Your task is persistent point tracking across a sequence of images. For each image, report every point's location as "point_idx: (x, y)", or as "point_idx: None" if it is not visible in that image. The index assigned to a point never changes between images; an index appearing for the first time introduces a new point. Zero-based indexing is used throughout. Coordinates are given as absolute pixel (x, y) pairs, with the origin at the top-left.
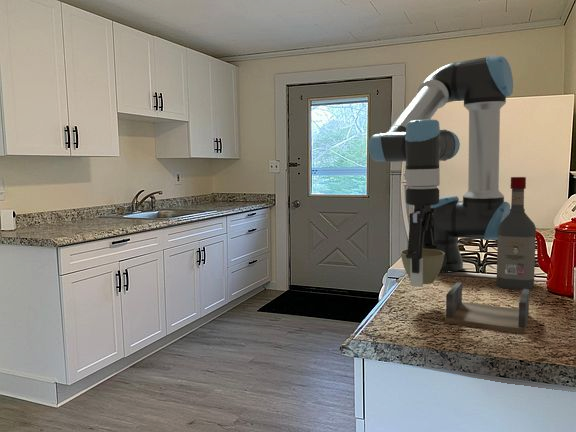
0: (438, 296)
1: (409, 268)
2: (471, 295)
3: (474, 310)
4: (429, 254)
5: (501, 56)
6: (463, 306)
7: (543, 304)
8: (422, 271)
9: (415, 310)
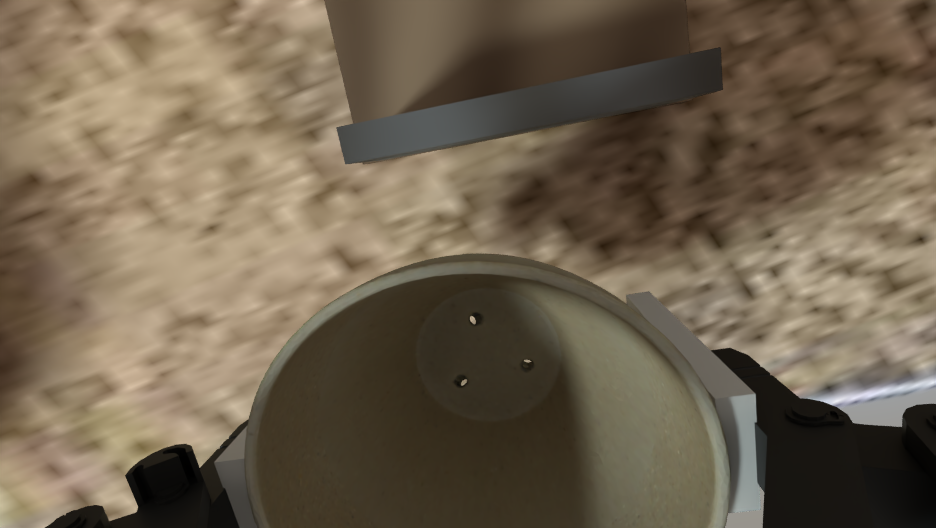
0: (276, 301)
1: (635, 457)
2: (147, 173)
3: (464, 21)
4: (293, 456)
5: None
6: (429, 101)
7: None
8: (682, 335)
9: None
